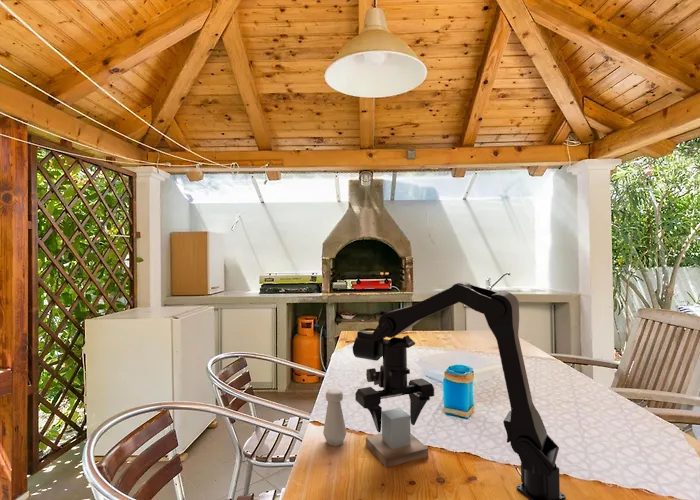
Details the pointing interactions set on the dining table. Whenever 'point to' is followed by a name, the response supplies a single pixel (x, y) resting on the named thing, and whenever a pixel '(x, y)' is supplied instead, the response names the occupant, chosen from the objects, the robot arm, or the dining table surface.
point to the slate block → (396, 428)
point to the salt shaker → (334, 418)
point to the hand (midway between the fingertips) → (395, 428)
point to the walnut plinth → (396, 451)
